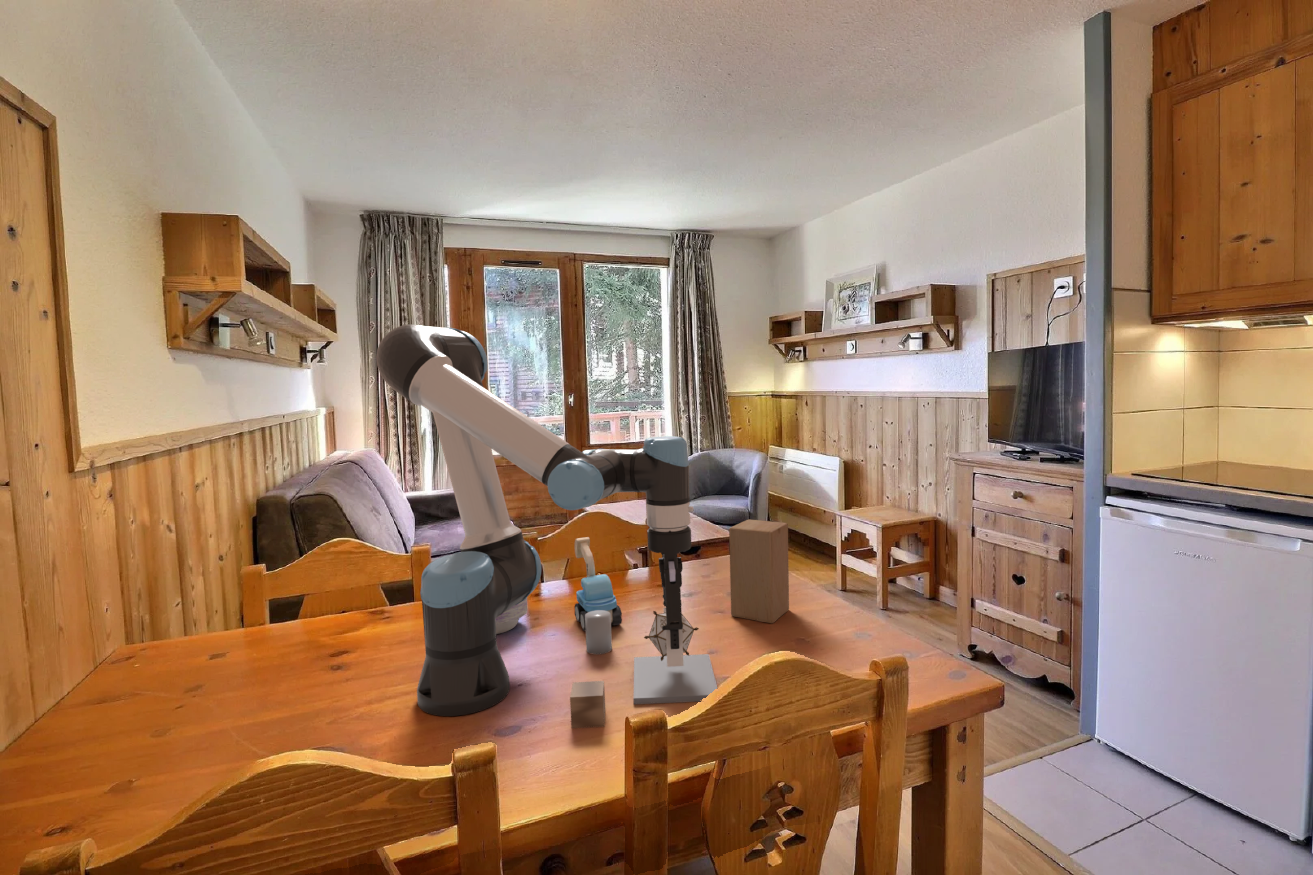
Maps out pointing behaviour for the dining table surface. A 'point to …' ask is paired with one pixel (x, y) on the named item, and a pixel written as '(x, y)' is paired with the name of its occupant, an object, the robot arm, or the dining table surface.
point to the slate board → (672, 679)
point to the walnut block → (587, 704)
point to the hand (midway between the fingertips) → (673, 653)
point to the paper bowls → (510, 617)
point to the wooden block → (759, 570)
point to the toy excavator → (594, 589)
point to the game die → (660, 635)
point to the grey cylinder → (598, 632)
